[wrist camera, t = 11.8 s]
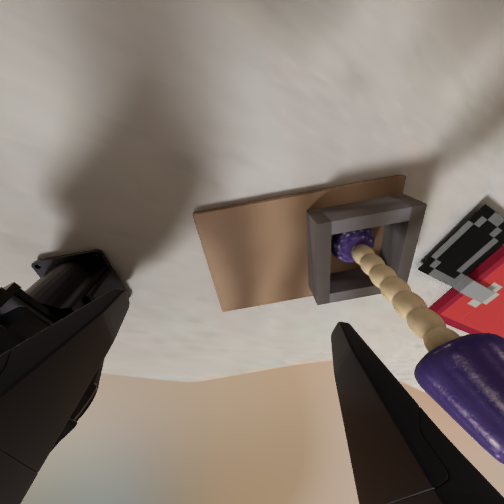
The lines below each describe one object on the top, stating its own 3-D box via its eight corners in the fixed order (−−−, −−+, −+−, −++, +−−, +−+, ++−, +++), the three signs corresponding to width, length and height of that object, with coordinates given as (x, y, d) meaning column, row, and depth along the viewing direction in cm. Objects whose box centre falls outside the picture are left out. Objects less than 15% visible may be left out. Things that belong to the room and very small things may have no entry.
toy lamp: (367, 259, 24) (569, 465, 10) (324, 266, 24) (466, 484, 10) (374, 218, 22) (656, 414, 7) (326, 226, 22) (519, 439, 7)
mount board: (222, 308, 27) (222, 333, 24) (193, 212, 20) (187, 229, 17) (382, 279, 27) (402, 300, 24) (401, 174, 20) (432, 184, 17)
